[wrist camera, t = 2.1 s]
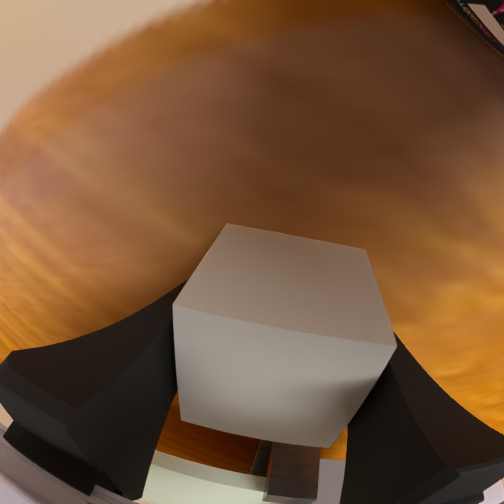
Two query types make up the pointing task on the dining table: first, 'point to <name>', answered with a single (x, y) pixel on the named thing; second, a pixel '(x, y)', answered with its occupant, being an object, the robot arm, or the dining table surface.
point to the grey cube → (279, 337)
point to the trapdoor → (224, 483)
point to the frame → (287, 472)
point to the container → (482, 19)
